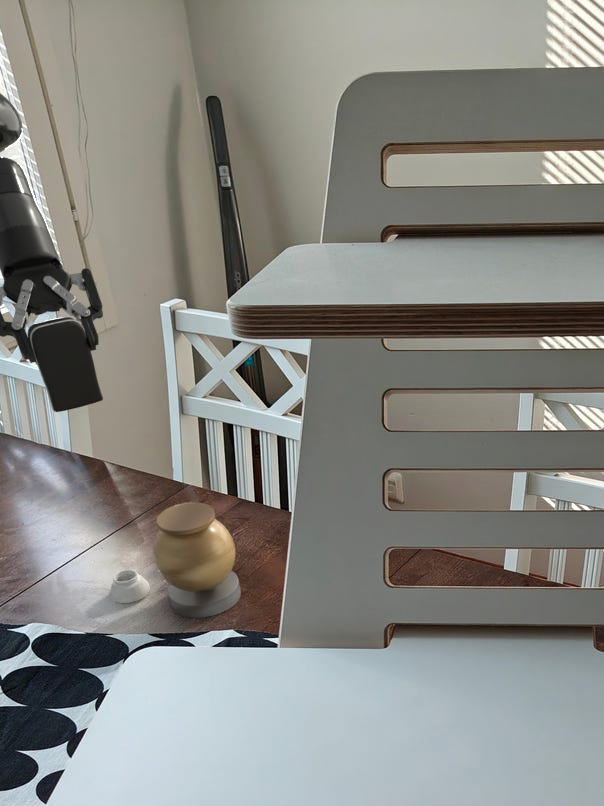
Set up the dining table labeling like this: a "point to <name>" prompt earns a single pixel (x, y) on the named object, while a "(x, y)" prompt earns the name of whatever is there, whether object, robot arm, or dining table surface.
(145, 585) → the lidless jar
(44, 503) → the dining table surface
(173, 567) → the lidded jar
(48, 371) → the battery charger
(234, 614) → the dining table surface
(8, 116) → the robot arm
